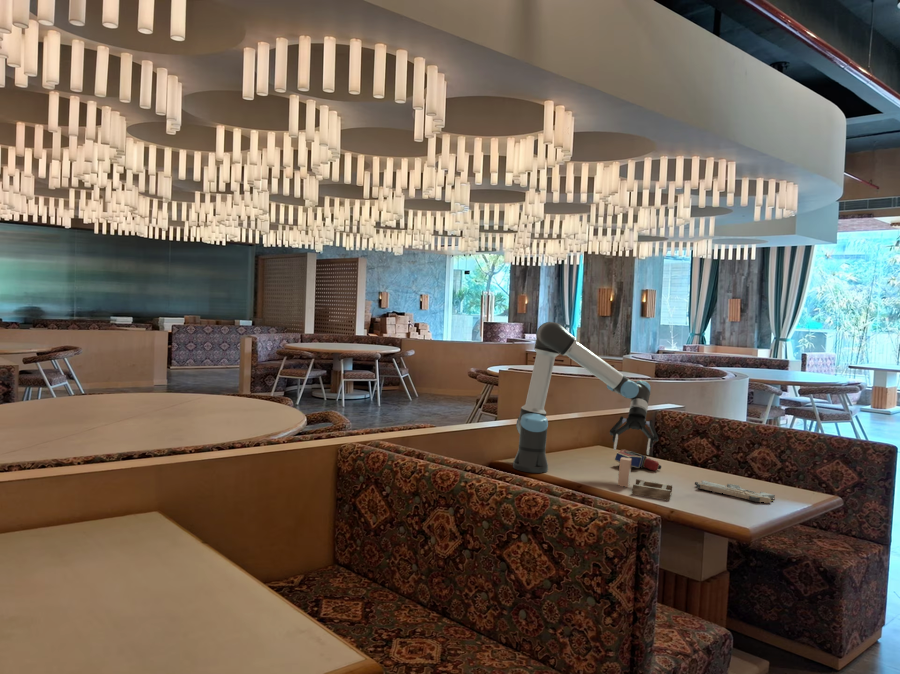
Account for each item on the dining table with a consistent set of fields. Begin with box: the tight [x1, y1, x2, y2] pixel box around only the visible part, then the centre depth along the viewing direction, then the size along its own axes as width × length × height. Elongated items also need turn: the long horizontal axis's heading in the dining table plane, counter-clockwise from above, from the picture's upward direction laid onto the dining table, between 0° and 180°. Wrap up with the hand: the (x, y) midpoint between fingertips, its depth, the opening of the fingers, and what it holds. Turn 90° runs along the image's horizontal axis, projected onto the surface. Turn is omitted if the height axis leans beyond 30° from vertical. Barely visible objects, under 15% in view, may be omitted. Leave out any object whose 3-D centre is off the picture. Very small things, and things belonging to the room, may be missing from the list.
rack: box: [631, 479, 673, 501], centre depth 267 cm, size 14×12×4 cm
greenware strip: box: [617, 457, 632, 488], centre depth 278 cm, size 4×5×11 cm
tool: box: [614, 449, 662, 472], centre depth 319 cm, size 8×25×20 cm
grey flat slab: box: [694, 480, 776, 504], centre depth 280 cm, size 30×3×20 cm
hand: (631, 450), depth 286 cm, fingers open, 13 cm apart
